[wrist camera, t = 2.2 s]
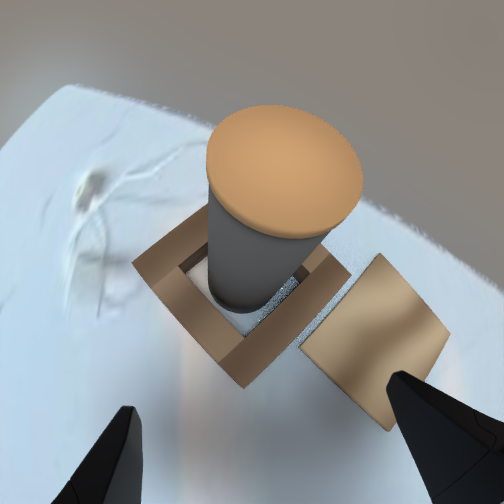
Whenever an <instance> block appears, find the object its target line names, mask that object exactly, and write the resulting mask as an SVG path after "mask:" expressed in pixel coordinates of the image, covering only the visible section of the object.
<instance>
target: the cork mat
mask: <svg viewBox="0 0 504 504" xmlns="http://www.w3.org/2000/svg"><path fill="white" fill-rule="evenodd" d="M449 336H450V332H449V331H448V330H447V328H446V327H445V326H444V325H443V323H442V322H441V321H440V320H439V319H438V317H437V316H436V315H435V314H434V312H433V311H432V310H431V309H430V308H429V306H428V305H427V304H426V303H425V302H424V301H423V299H422V298H421V297H420V296H419V295H418V294H417V292H416V291H415V290H414V289H413V288H412V287H411V286H410V284H409V283H408V282H407V281H406V280H405V279H404V278H403V277H402V276H401V274H400V273H399V272H398V271H397V270H396V269H395V268H394V267H393V266H392V265H391V264H390V262H389V261H388V260H387V259H386V258H385V257H384V256H383V255H382V254H381V253H379V254H378V255H377V256H376V257H375V258H374V260H373V261H372V262H371V264H370V265H369V266H368V267H367V269H366V270H365V271H364V272H363V274H362V275H361V276H360V277H359V279H358V280H357V281H356V282H355V284H354V285H353V286H352V287H351V288H350V290H349V291H348V292H347V293H346V294H345V296H344V297H343V298H342V299H341V300H340V301H339V303H338V304H337V305H336V306H335V307H334V308H333V310H332V311H331V312H330V313H329V314H328V315H327V316H326V318H325V319H324V320H323V321H322V322H321V323H320V324H319V325H318V326H317V328H316V329H315V330H314V331H313V332H312V333H311V334H310V335H309V336H308V337H307V338H306V339H305V341H304V342H303V343H302V344H301V345H300V346H299V347H298V348H299V349H300V350H301V351H302V352H303V353H304V354H306V355H307V356H308V357H309V358H310V359H311V360H312V361H313V362H314V363H315V364H316V365H317V366H318V367H319V368H320V369H321V370H322V371H323V372H324V373H325V374H326V375H327V376H328V377H329V378H330V379H331V380H332V381H333V382H334V383H335V384H336V385H337V386H338V387H340V388H341V389H342V390H343V391H344V392H345V393H346V394H347V395H348V396H349V397H350V398H351V399H352V400H353V401H354V402H355V403H356V404H358V405H359V406H360V407H361V408H362V409H363V410H364V411H365V412H366V413H367V414H368V415H369V416H370V417H372V418H373V419H374V420H375V421H376V422H377V423H378V424H379V425H380V426H381V427H382V428H383V429H385V430H386V431H390V430H391V429H392V427H393V426H394V425H395V423H396V422H397V421H396V419H395V416H394V413H393V410H392V407H391V404H390V401H389V398H388V396H387V393H386V386H387V384H388V382H389V379H390V377H391V375H392V373H394V372H396V371H400V370H404V371H406V372H407V373H409V374H411V375H413V376H415V377H416V378H418V379H420V380H422V381H425V379H426V377H427V376H428V374H429V372H430V371H431V369H432V367H433V366H434V364H435V362H436V360H437V359H438V357H439V355H440V353H441V351H442V349H443V347H444V346H445V344H446V342H447V340H448V338H449Z"/></svg>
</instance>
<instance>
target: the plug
mask: <svg viewBox="0 0 504 504" xmlns="http://www.w3.org/2000/svg"><path fill="white" fill-rule="evenodd" d="M206 172H207V178H208V182H209V198H208V285H209V290H210V292H211V295H212V297H213V298H214V300H215V301H216V302H217V303H218V304H219V305H220V306H221V307H223V308H224V309H226V310H228V311H231V312H234V313H240V314H244V313H251V312H254V311H256V310H258V309H260V308H262V307H263V306H264V305H265V304H266V303H267V302H268V301H269V300H270V299H271V298H272V297H273V296H274V294H275V293H276V292H277V291H278V290H279V289H280V288H281V287H282V286H283V285H284V283H285V282H286V281H287V280H288V279H289V278H290V277H291V276H292V275H293V273H294V272H295V271H296V270H297V269H298V268H299V267H300V266H301V264H302V263H303V262H304V261H305V260H306V259H307V258H308V257H309V255H310V254H311V253H312V252H313V251H314V250H315V249H316V247H317V246H318V245H319V244H320V243H321V242H322V240H323V239H324V238H325V237H326V236H327V235H328V233H329V232H330V231H331V230H332V229H334V228H335V227H337V226H338V225H339V224H340V223H342V222H343V221H344V220H345V218H346V217H347V216H348V215H349V214H350V213H351V211H352V210H353V209H354V208H355V206H356V205H357V203H358V201H359V199H360V196H361V193H362V188H363V174H362V168H361V165H360V162H359V159H358V157H357V155H356V153H355V151H354V150H353V148H352V146H351V145H350V144H349V142H348V141H347V140H346V139H345V138H344V137H343V136H342V135H341V133H339V132H338V131H337V130H336V129H335V128H334V127H332V126H331V125H330V124H328V123H327V122H325V121H324V120H322V119H320V118H319V117H316V116H314V115H312V114H310V113H307V112H305V111H302V110H299V109H296V108H291V107H286V106H279V105H262V106H254V107H250V108H246V109H243V110H240V111H238V112H235V113H233V114H232V115H230V116H228V117H227V118H226V119H224V120H223V121H222V122H221V123H220V124H219V125H218V126H217V127H216V128H215V130H214V131H213V133H212V134H211V137H210V139H209V142H208V146H207V155H206Z"/></svg>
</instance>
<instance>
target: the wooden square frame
mask: <svg viewBox="0 0 504 504" xmlns="http://www.w3.org/2000/svg"><path fill="white" fill-rule="evenodd" d="M207 255H208V204H206V205H205V206H204V207H202V208H201V209H199V210H198V211H197V212H195V213H194V214H193V215H191V216H190V217H189V218H187V219H186V220H185V221H183V222H182V223H181V224H180V225H178V226H177V227H176V228H174V229H173V230H172V231H170V232H169V233H168V234H167V235H165V236H164V237H163V238H161V239H160V240H159V241H158V242H156V243H155V244H154V245H153V246H151V247H150V248H149V249H148V250H146V251H145V252H144V253H143V254H141V255H140V256H139V257H138V258H136V259H135V260H134V261H133V262H132V264H133V266H134V267H135V269H136V270H137V271H138V273H139V274H140V275H141V277H142V278H143V279H144V280H145V282H146V283H147V284H148V285H149V287H150V288H151V289H152V290H153V292H154V293H155V294H156V295H157V296H158V298H159V299H160V300H161V301H162V302H163V304H164V305H165V306H166V307H167V308H168V309H169V311H170V312H171V313H172V314H173V315H174V316H175V318H176V319H177V320H178V321H179V322H180V323H181V324H182V326H183V327H184V328H185V329H186V330H187V331H188V332H189V333H190V335H191V336H192V337H193V338H194V339H195V340H196V341H197V342H198V343H199V344H200V345H201V347H202V348H203V349H204V350H205V351H206V352H207V353H208V354H209V355H210V356H211V357H212V358H213V359H214V360H215V361H216V362H217V363H218V364H219V365H220V366H221V367H222V369H223V370H224V371H225V372H226V373H227V374H228V375H229V376H230V377H231V378H232V379H233V380H234V381H235V382H236V383H237V384H239V385H240V386H241V387H242V388H243V389H244V388H245V387H246V386H247V385H249V384H250V383H251V382H252V381H253V380H254V379H255V378H256V377H257V376H258V375H259V374H260V373H261V372H262V371H263V370H264V369H265V368H266V367H267V366H268V365H269V364H270V363H271V362H272V361H273V360H274V359H275V358H276V357H277V356H278V355H279V354H280V353H281V352H282V351H283V350H284V349H285V348H286V347H287V346H288V345H289V344H290V343H291V342H292V341H293V340H294V339H295V338H296V337H297V336H298V335H299V334H300V333H301V332H302V331H303V330H304V328H305V327H306V326H307V325H308V324H309V323H310V322H311V321H312V320H313V319H314V318H315V317H316V315H317V314H318V313H319V312H320V311H321V310H322V309H323V308H324V307H325V306H326V304H327V303H328V302H329V301H330V300H331V299H332V298H333V296H334V295H335V294H336V293H337V292H338V291H339V290H340V288H341V287H342V286H343V285H344V284H345V283H346V281H347V280H348V279H349V278H350V277H351V276H352V275H351V274H350V273H349V272H348V271H347V270H346V269H345V267H344V266H343V265H342V264H341V263H340V262H339V261H338V260H337V259H336V258H335V257H334V256H333V255H332V254H331V253H330V252H329V251H328V250H327V249H326V248H325V247H324V246H323V245H322V244H321V243H320V244H319V245H318V246H317V247H316V249H315V250H314V251H313V252H312V253H311V254H310V255H309V257H308V258H307V259H306V260H305V261H304V262H303V263H302V264H301V266H300V267H299V268H298V269H297V270H296V271H295V272H294V273H293V276H294V277H295V278H296V279H297V280H298V281H299V282H300V284H299V285H298V286H297V287H296V288H295V289H294V290H293V291H292V292H291V293H290V294H289V295H288V296H287V297H286V298H285V299H284V300H283V301H282V302H281V303H280V304H279V305H278V306H277V307H276V308H275V309H274V310H273V311H272V312H271V313H270V314H269V315H268V316H266V317H265V318H264V319H263V320H262V321H261V322H260V323H259V324H258V325H257V326H256V327H255V328H254V329H253V330H252V331H251V332H250V333H249V334H248V335H247V336H246V337H243V336H242V335H241V334H240V333H239V332H238V331H237V330H236V329H235V328H234V327H233V326H232V325H231V324H230V323H229V322H228V321H227V320H226V319H225V317H224V316H223V315H222V314H221V313H220V312H219V311H218V310H217V309H216V308H215V307H214V306H213V305H212V304H211V302H210V301H209V300H208V299H207V298H206V297H205V296H204V295H203V294H202V293H201V292H200V290H199V289H198V288H197V287H196V286H195V285H194V284H193V283H192V282H191V280H190V279H189V278H188V277H187V276H186V275H185V273H186V272H187V271H189V270H190V269H191V268H192V267H193V266H195V265H196V264H197V263H198V262H200V261H201V260H202V259H203V258H204V257H206V256H207Z"/></svg>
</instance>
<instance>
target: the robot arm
mask: <svg viewBox="0 0 504 504" xmlns="http://www.w3.org/2000/svg"><path fill="white" fill-rule="evenodd" d="M386 393H387V396H388V398H389V401H390V404H391V407H392V410H393V413H394V416H395V419H396V421H397V424H398V426H399V428H400V430H401V433H402V435H403V437H404V439H405V441H406V443H407V445H408V448H409V450H410V452H411V454H412V457H413V459H414V461H415V463H416V465H417V468H418V470H419V472H420V475H421V477H422V479H423V482H424V484H425V486H426V489H427V491H428V494H429V496H430V498H431V501H432V504H504V422H501V421H498V420H496V419H494V418H491V417H489V416H487V415H485V414H483V413H481V412H479V411H477V410H475V409H473V408H471V407H469V406H468V405H466V404H464V403H462V402H460V401H458V400H456V399H455V398H453V397H451V396H449V395H447V394H445V393H444V392H442V391H440V390H438V389H436V388H434V387H433V386H431V385H429V384H427V383H425V382H424V381H422V380H420V379H418V378H416V377H415V376H413V375H411V374H409V373H407V372H406V371H404V370H400V371H396V372H394V373H392V375H391V377H390V379H389V382H388V384H387V386H386ZM142 474H143V452H142V424H141V420H140V417H139V415H138V413H137V411H136V408H135V407H134V406H122V407H121V408H120V409H119V411H118V412H117V413H116V415H115V416H114V417H113V419H112V420H111V422H110V423H109V424H108V426H107V427H106V429H105V430H104V431H103V433H102V434H101V436H100V437H99V438H98V440H97V441H96V443H95V444H94V445H93V447H92V448H91V450H90V451H89V452H88V454H87V455H86V457H85V458H84V459H83V461H82V462H81V464H80V465H79V466H78V468H77V469H76V471H75V472H74V474H73V475H72V476H71V478H70V480H69V481H68V482H67V483H66V485H65V486H64V488H63V489H62V490H61V492H60V493H59V494H58V496H57V497H56V498H55V499H54V500H53V502H52V503H51V504H141V491H142Z"/></svg>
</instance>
